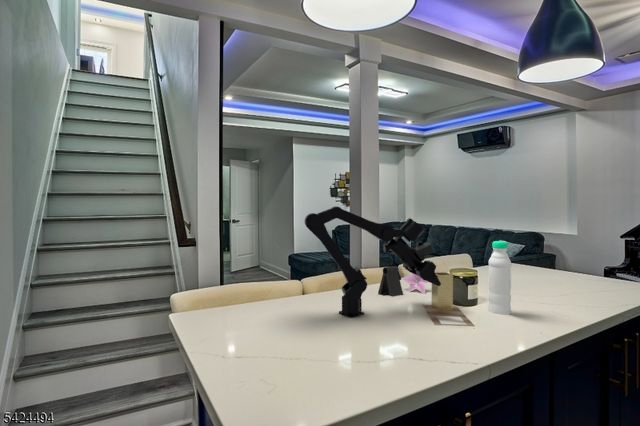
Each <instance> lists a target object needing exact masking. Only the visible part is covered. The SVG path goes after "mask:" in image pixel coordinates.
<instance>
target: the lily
mask: <svg viewBox="0 0 640 426" xmlns="http://www.w3.org/2000/svg"><path fill="white" fill-rule="evenodd" d="M400 281H403V282H404V283H406V284H409V285H408V286H409V287H408V292H409V293H411V292H412V291H414V290H416V289H417V290H418V291H419V292H420V293H421V294H423V295H424V294H426V285H427V284H431V283H430V282H428V281H425V280H423V279H421V278H420V277H419V276H417V275H415V274H413V273H411V272H409V275H405V276H404V277H401V278H400Z"/></svg>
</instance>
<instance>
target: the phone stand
mask: <svg viewBox="0 0 640 426" xmlns="http://www.w3.org/2000/svg"><path fill="white" fill-rule="evenodd" d="M377 294H378V295H380V296H382V297H384V296H385V297H386V296H390V297H392V298H394V297H399V296H404V292H403V288H402V283H401V278H400V275H399V267H398V266H397V265H392V266H384V267H383V268H382V277H381V280H380V285H379V287H378V292H377Z"/></svg>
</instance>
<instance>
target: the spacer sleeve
mask: <svg viewBox="0 0 640 426" xmlns="http://www.w3.org/2000/svg"><path fill="white" fill-rule="evenodd" d="M435 274H436V276H437V278H438V279H439V281H440V283H441V285H440V286H437V285H435V284H433V283H431V305H432V308H434V309H435V310H437V311H453V306H454V304H453V303H454V296H453V295H454V275H453V274H451V273H448V272H446V271H440V272H439V271H438V272H436V271H435Z"/></svg>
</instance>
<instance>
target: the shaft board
mask: <svg viewBox="0 0 640 426" xmlns="http://www.w3.org/2000/svg"><path fill="white" fill-rule="evenodd" d="M422 308H424V310H425V311H426V313H427V315H428V317H429V318H430V319H431V321H432V323H433V325H434V326H451V327H453V326H458V327H476V325H475V324H474V323H473V322H472V321H471V320H470V319H469V318H468V317H467V316H466V314H465V313H463V312H462V310H461V309H460V308H459V307H458V306H457V305H453V311H437V310H435V309H434V308H432V304H422ZM474 329H476V328H473V330H474Z"/></svg>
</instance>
